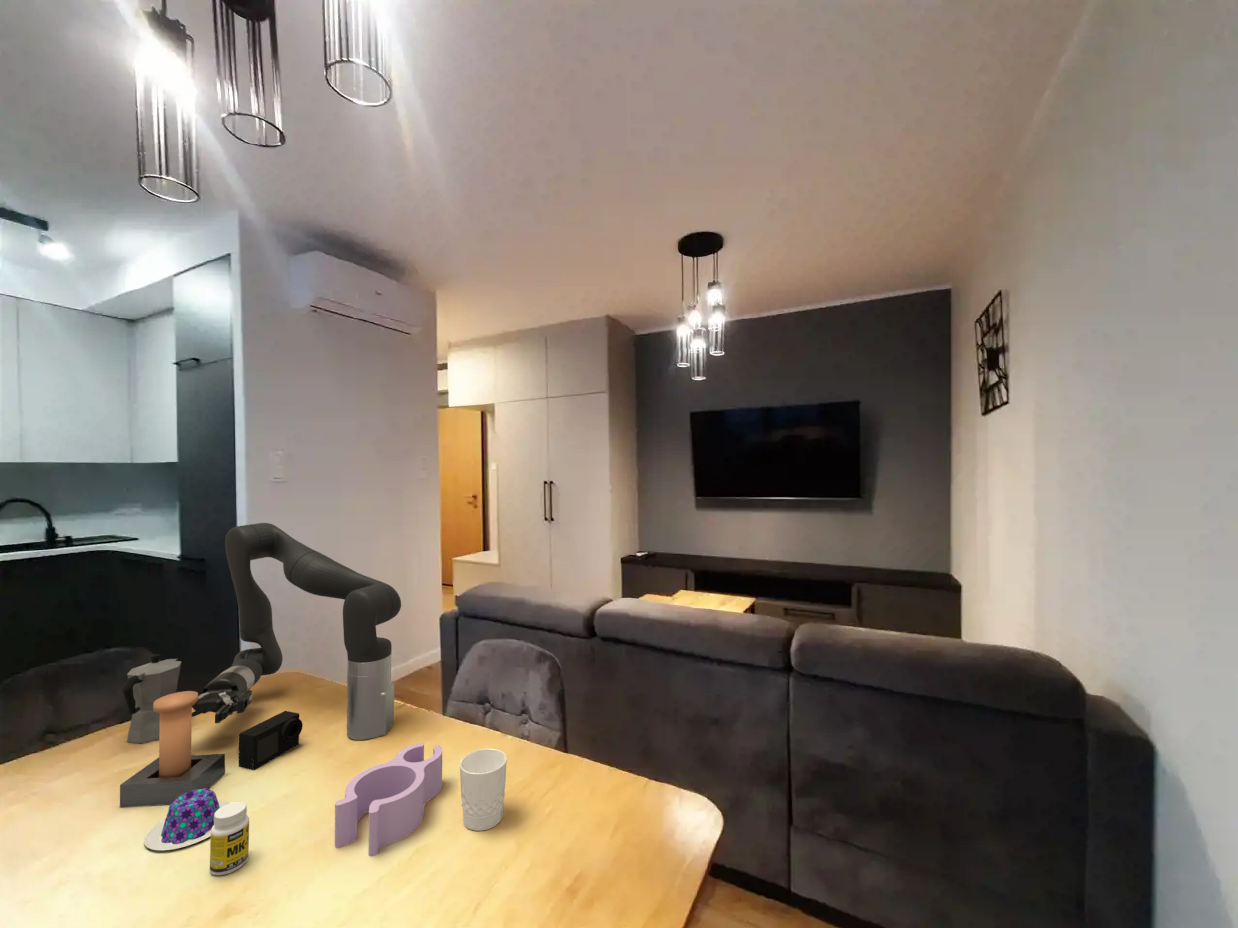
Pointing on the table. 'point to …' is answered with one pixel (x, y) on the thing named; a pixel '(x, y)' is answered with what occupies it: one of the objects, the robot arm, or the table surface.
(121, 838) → the table surface
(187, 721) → the orange capped cylinder
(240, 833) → the supplement bottle
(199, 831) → the pudding
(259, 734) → the digital camera
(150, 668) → the coffeepot
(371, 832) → the clip
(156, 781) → the frame
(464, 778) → the white cup
